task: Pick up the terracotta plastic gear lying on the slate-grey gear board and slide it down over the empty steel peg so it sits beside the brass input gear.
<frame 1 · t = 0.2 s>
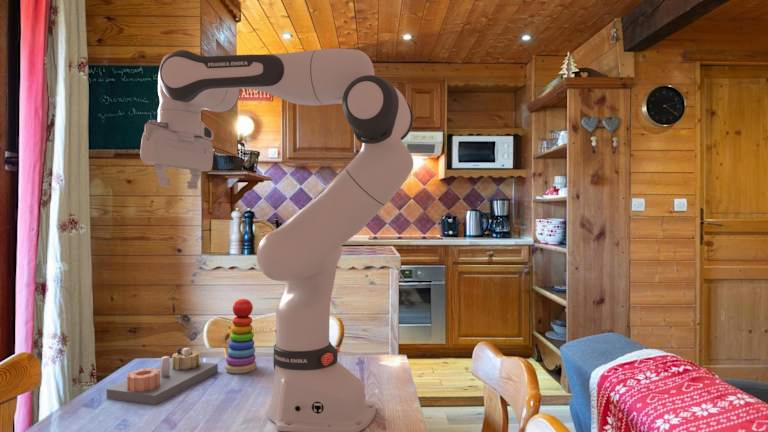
hand: (179, 187, 105), 47 cm above the table, fingers open, 8 cm apart
gear board: (166, 383, 112), on the table
input gear: (186, 357, 119), point 4 cm above the table, hinge at 0.0°
stacking toy: (240, 370, 122), on the table
loose gear: (143, 386, 105), point 2 cm above the table, touching gear board
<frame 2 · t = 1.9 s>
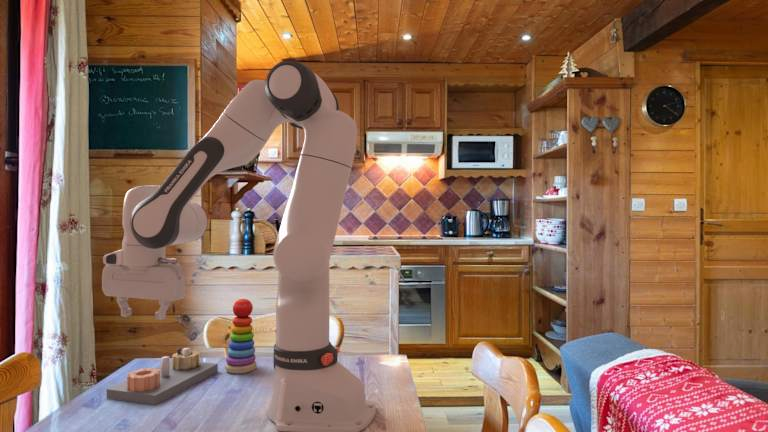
hand: (143, 317, 105), 18 cm above the table, fingers open, 8 cm apart
nothing on the table moved.
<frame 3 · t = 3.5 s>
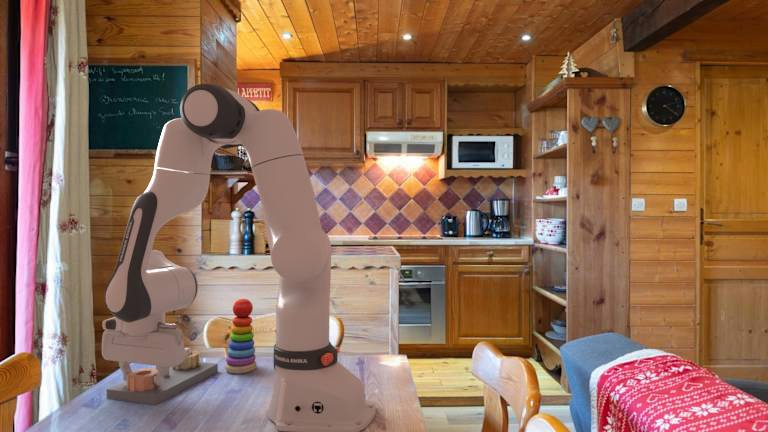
hand: (143, 382, 105), 3 cm above the table, fingers closed on loose gear, 7 cm apart
loose gear: (143, 386, 105), point 2 cm above the table, touching gear board, gripper
everything else where it was.
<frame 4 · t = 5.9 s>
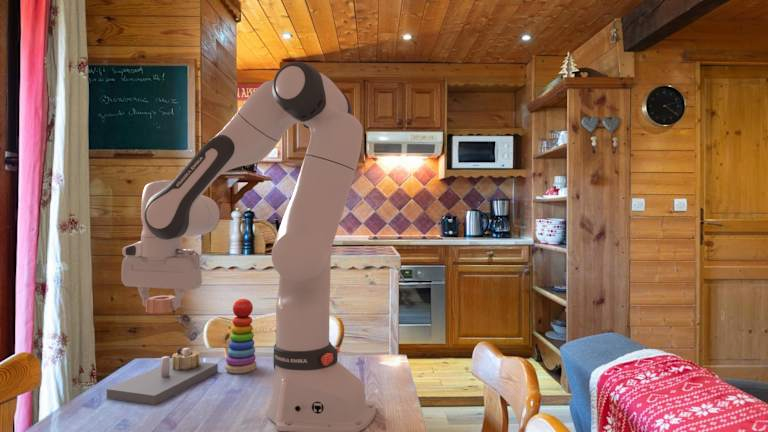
hand: (161, 306, 110), 19 cm above the table, fingers closed on loose gear, 7 cm apart
loose gear: (161, 310, 110), point 18 cm above the table, touching gripper
everything else where it was.
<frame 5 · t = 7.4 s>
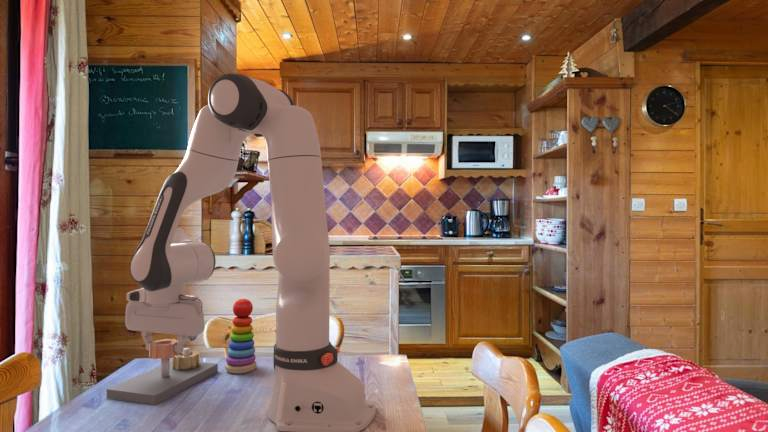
hand: (164, 350, 111), 8 cm above the table, fingers closed on loose gear, 7 cm apart
loose gear: (164, 354, 111), point 7 cm above the table, touching gripper
everything else where it was.
when the fingers open (4 cm above the table, at t = 8.6 s): loose gear drops 1 cm, resting on gear board.
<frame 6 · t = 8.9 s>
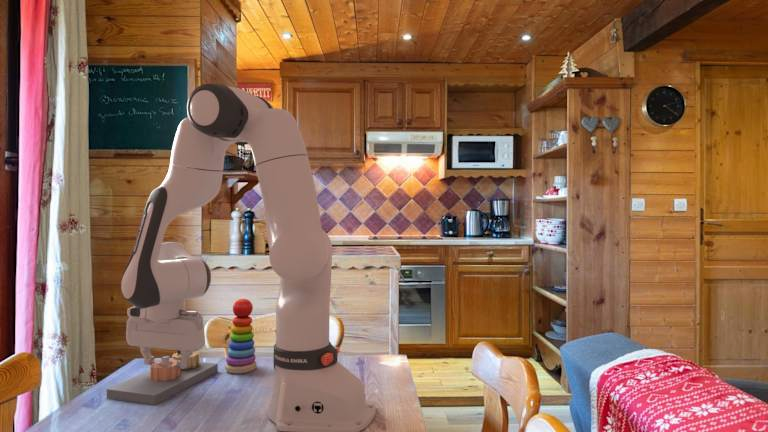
hand: (165, 366, 111), 4 cm above the table, fingers open, 8 cm apart
loose gear: (165, 376, 111), point 2 cm above the table, touching gear board
everything else where it was.
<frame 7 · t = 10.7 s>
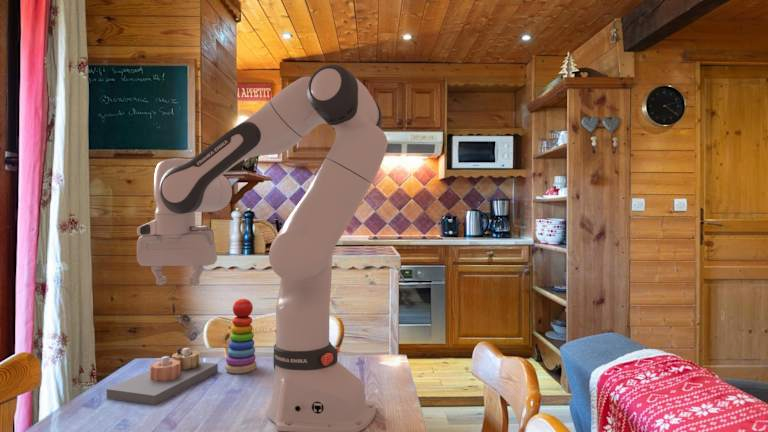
hand: (177, 284, 111), 24 cm above the table, fingers open, 8 cm apart
nothing on the table moved.
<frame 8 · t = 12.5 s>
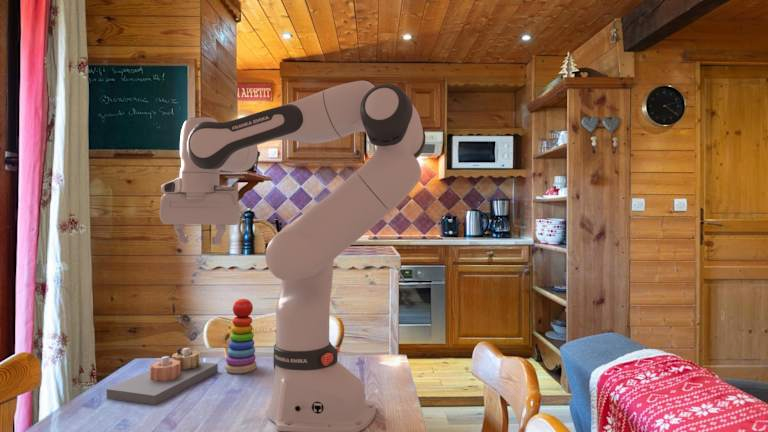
hand: (199, 243, 110), 34 cm above the table, fingers open, 8 cm apart
nothing on the table moved.
at the end: loose gear 0.0 cm off-centre on the gear board, point 2.0 cm above the gear board's base; loose gear tilted 0°; the gripper is holding nothing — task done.
